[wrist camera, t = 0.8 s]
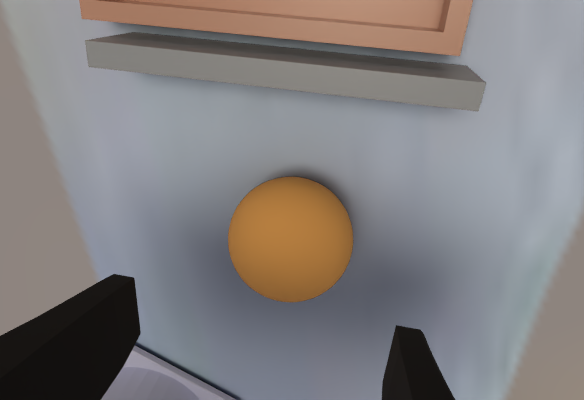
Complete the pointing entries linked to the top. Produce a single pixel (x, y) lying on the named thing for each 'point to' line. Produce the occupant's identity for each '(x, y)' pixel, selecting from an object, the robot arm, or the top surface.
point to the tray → (306, 20)
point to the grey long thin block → (291, 69)
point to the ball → (290, 239)
